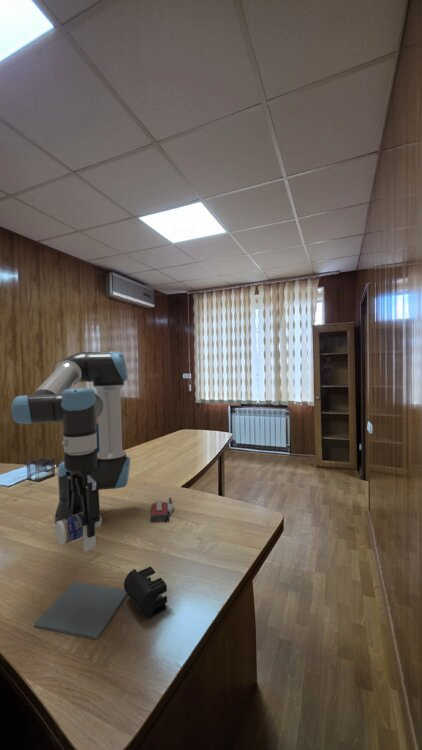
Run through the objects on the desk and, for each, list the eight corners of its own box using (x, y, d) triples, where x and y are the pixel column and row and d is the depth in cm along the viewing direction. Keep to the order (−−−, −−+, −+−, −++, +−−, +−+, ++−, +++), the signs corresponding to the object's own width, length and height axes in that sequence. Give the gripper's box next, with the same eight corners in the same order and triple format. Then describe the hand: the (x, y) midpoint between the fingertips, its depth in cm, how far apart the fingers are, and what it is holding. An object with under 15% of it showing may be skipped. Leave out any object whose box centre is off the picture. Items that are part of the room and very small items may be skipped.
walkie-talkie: (173, 523, 116) (172, 500, 136) (173, 512, 116) (172, 490, 136) (149, 525, 115) (152, 502, 135) (149, 514, 115) (151, 492, 134)
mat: (34, 626, 70) (34, 624, 70) (74, 584, 84) (74, 582, 84) (97, 639, 67) (97, 636, 67) (128, 592, 80) (128, 590, 80)
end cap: (123, 599, 78) (122, 573, 78) (149, 587, 82) (148, 562, 82) (140, 625, 70) (139, 596, 70) (168, 610, 74) (167, 582, 74)
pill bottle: (55, 516, 74) (95, 502, 81) (53, 533, 75) (92, 518, 82) (64, 533, 70) (104, 517, 77) (61, 550, 72) (101, 533, 79)
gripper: (50, 448, 80) (54, 536, 81) (82, 462, 67) (86, 567, 68) (79, 442, 85) (82, 525, 86) (113, 454, 73) (117, 551, 74)
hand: (84, 543), depth 77 cm, fingers closed on pill bottle, 5 cm apart
